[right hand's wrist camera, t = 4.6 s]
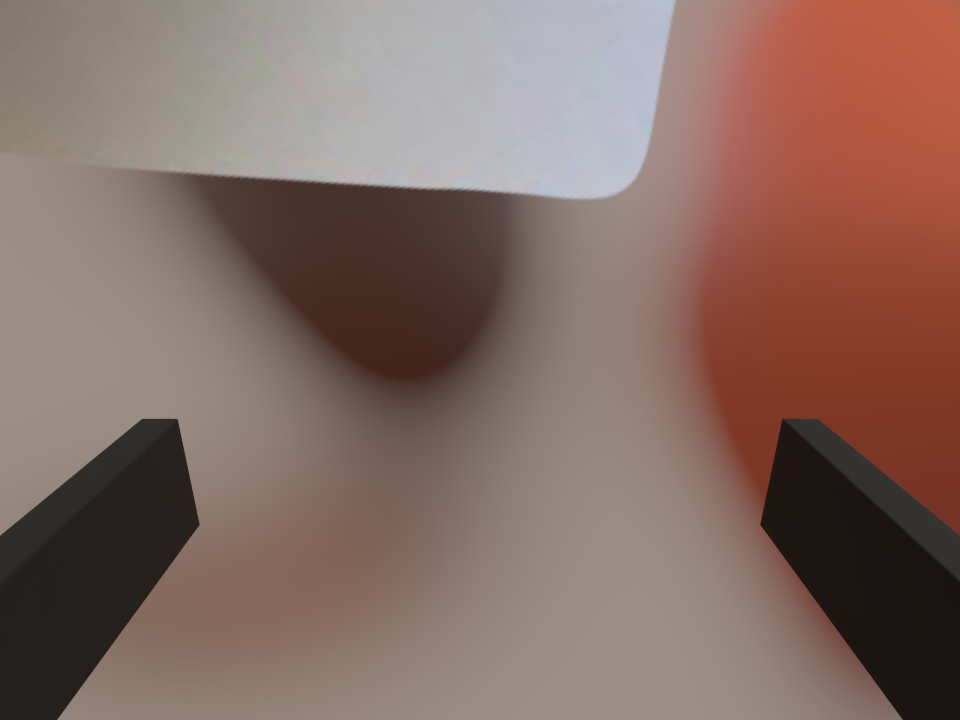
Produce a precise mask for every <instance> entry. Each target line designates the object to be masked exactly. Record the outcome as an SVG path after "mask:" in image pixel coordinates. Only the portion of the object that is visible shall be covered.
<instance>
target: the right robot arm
mask: <svg viewBox="0 0 960 720" xmlns="http://www.w3.org/2000/svg"><path fill="white" fill-rule="evenodd" d="M199 525H200V524H199V519H198V515H197V510H196V505H195V500H194V496H193V491H192V486H191V481H190V476H189V472H188V467H187V462H186V457H185V452H184V448H183V443H182V438H181V433H180V428H179V424H178V419H142V420H140V421H139V422H138V423H137V424H135V425H134V426H133V427H132V428H131V429H129V430H128V431H127V432H126V433H125V434H123V435H122V436H121V437H120V438H119V439H117V440H116V441H115V442H114V443H112V444H111V445H110V446H109V447H108V448H106V449H105V450H104V451H103V452H101V453H100V454H99V455H98V456H97V457H95V458H94V459H93V460H92V461H91V462H89V463H88V464H87V465H86V466H84V467H83V468H82V469H81V470H80V471H78V472H77V473H76V474H75V475H74V476H72V477H71V478H70V479H69V480H68V481H66V482H65V483H64V484H63V485H61V486H60V487H59V488H58V489H57V490H55V491H54V492H53V493H52V494H50V495H49V496H48V497H47V498H46V499H44V500H43V501H42V502H41V503H40V504H38V505H37V506H36V507H35V508H33V509H32V510H31V511H30V512H29V513H27V514H26V515H25V516H24V517H22V518H21V519H20V520H19V521H18V522H16V523H15V524H14V525H13V526H12V527H10V528H9V529H8V530H7V531H5V532H4V533H3V534H2V535H1V536H0V720H57V719H58V718H59V716H60V715H61V714H62V712H63V711H64V710H65V708H66V707H67V706H68V704H69V703H70V701H71V700H72V699H73V697H74V696H75V695H76V693H77V692H78V690H79V689H80V688H81V686H82V685H83V684H84V682H85V681H86V680H87V678H88V677H89V675H90V674H91V673H92V671H93V670H94V669H95V667H96V666H97V664H98V663H99V662H100V660H101V659H102V658H103V656H104V655H105V654H106V652H107V651H108V649H109V648H110V647H111V645H112V644H113V642H114V641H115V640H116V638H117V637H118V636H119V634H120V633H121V632H122V630H123V629H124V627H125V626H126V625H127V623H128V622H129V621H130V619H131V618H132V616H133V615H134V614H135V612H136V611H137V610H138V608H139V607H140V606H141V604H142V603H143V602H144V600H145V599H146V597H147V596H148V595H149V593H150V592H151V591H152V589H153V588H154V586H155V585H156V584H157V582H158V581H159V580H160V578H161V577H162V575H163V574H164V573H165V571H166V570H167V569H168V567H169V566H170V565H171V563H172V562H173V560H174V559H175V558H176V556H177V555H178V554H179V552H180V551H181V549H182V548H183V547H184V545H185V544H186V543H187V541H188V540H189V538H190V537H191V536H192V534H193V533H194V532H195V530H196V529H197V528H198V526H199ZM761 526H762V528H763V529H764V530H765V532H766V533H767V534H768V536H769V537H770V538H771V540H772V541H773V543H774V544H775V545H776V547H777V548H778V549H779V551H780V552H781V554H782V555H783V556H784V558H785V559H786V560H787V562H788V563H789V565H790V566H791V567H792V569H793V570H794V571H795V573H796V574H797V575H798V577H799V578H800V580H801V581H802V582H803V584H804V585H805V586H806V588H807V589H808V591H809V592H810V593H811V595H812V596H813V597H814V599H815V600H816V601H817V603H818V604H819V606H820V607H821V608H822V610H823V611H824V612H825V614H826V615H827V616H828V618H829V619H830V621H831V622H832V623H833V625H834V626H835V627H836V629H837V630H838V632H839V633H840V634H841V636H842V637H843V638H844V640H845V641H846V643H847V644H848V645H849V647H850V648H851V649H852V651H853V652H854V653H855V655H856V656H857V658H858V659H859V660H860V662H861V663H862V664H863V666H864V667H865V668H866V670H867V671H868V673H869V674H870V675H871V677H872V678H873V680H874V681H875V682H876V684H877V685H878V686H879V688H880V689H881V690H882V692H883V693H884V695H885V696H886V697H887V699H888V700H889V701H890V703H891V704H892V706H893V707H894V708H895V710H896V711H897V712H898V714H899V715H900V716H901V718H902V719H903V720H960V536H959V535H958V534H957V533H956V532H954V531H953V530H952V529H951V528H950V527H948V526H947V525H946V524H945V523H944V522H942V521H941V520H940V519H939V518H937V517H936V516H935V515H934V514H933V513H931V512H930V511H929V510H928V509H927V508H925V507H924V506H923V505H922V504H920V503H919V502H918V501H917V500H916V499H914V498H913V497H912V496H911V495H910V494H908V493H907V492H906V491H905V490H903V489H902V488H901V487H900V486H899V485H897V484H896V483H895V482H894V481H893V480H891V479H890V478H889V477H888V476H886V475H885V474H884V473H883V472H882V471H880V470H879V469H878V468H877V467H876V466H874V465H873V464H872V463H871V462H869V461H868V460H867V459H866V458H865V457H863V456H862V455H861V454H860V453H859V452H857V451H856V450H855V449H854V448H852V447H851V446H850V445H849V444H848V443H846V442H845V441H844V440H843V439H841V438H840V437H839V436H838V435H837V434H835V433H834V432H833V431H832V430H831V429H829V428H828V427H827V426H826V425H824V424H823V423H822V422H821V421H820V420H818V419H782V423H781V428H780V433H779V438H778V443H777V447H776V452H775V457H774V462H773V467H772V472H771V476H770V481H769V486H768V491H767V495H766V500H765V505H764V510H763V515H762V519H761Z"/></svg>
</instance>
